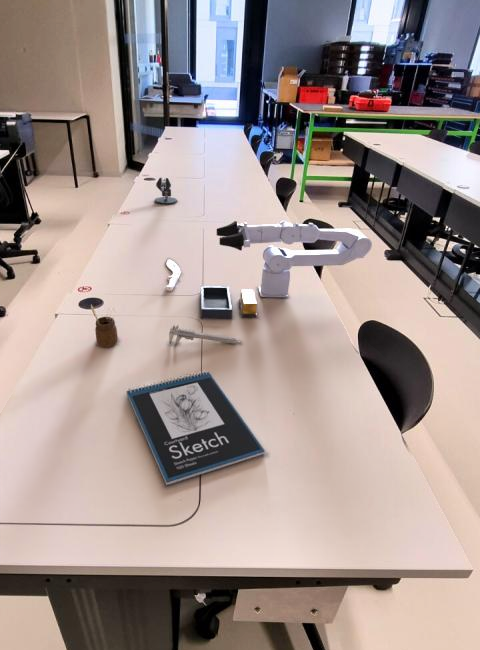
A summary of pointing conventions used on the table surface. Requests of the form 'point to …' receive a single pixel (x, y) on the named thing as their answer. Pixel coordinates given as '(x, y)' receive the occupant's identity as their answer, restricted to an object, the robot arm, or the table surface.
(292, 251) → the robot arm
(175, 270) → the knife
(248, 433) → the sketchbook
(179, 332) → the caliper
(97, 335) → the utensil holder
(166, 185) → the dark grey upright piece
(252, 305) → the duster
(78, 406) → the table surface
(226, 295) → the case
